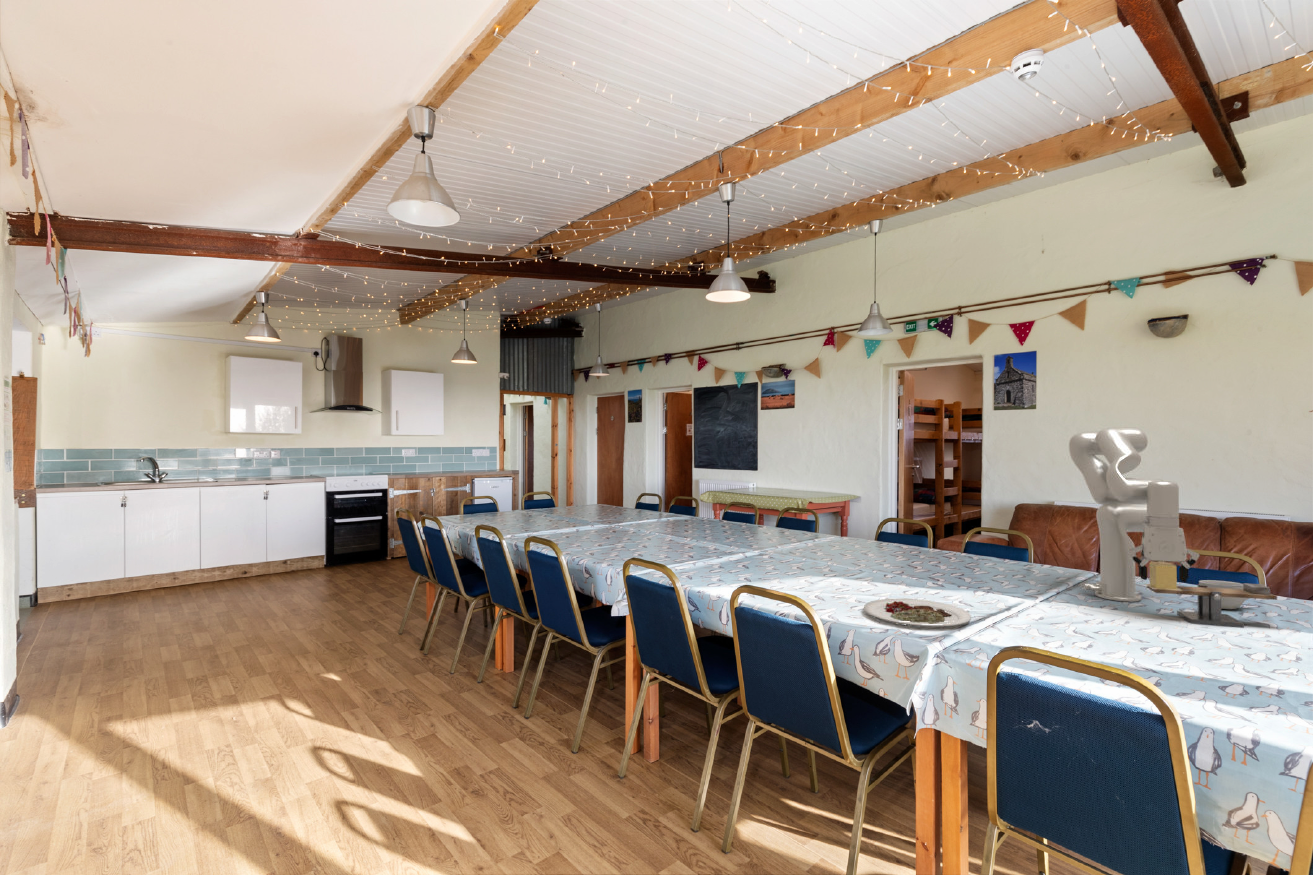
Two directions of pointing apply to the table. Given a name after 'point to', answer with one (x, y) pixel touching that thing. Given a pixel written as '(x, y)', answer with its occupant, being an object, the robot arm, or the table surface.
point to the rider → (1163, 575)
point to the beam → (1222, 591)
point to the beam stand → (1210, 612)
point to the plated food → (917, 612)
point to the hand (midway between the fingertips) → (1163, 580)
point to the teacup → (1226, 601)
